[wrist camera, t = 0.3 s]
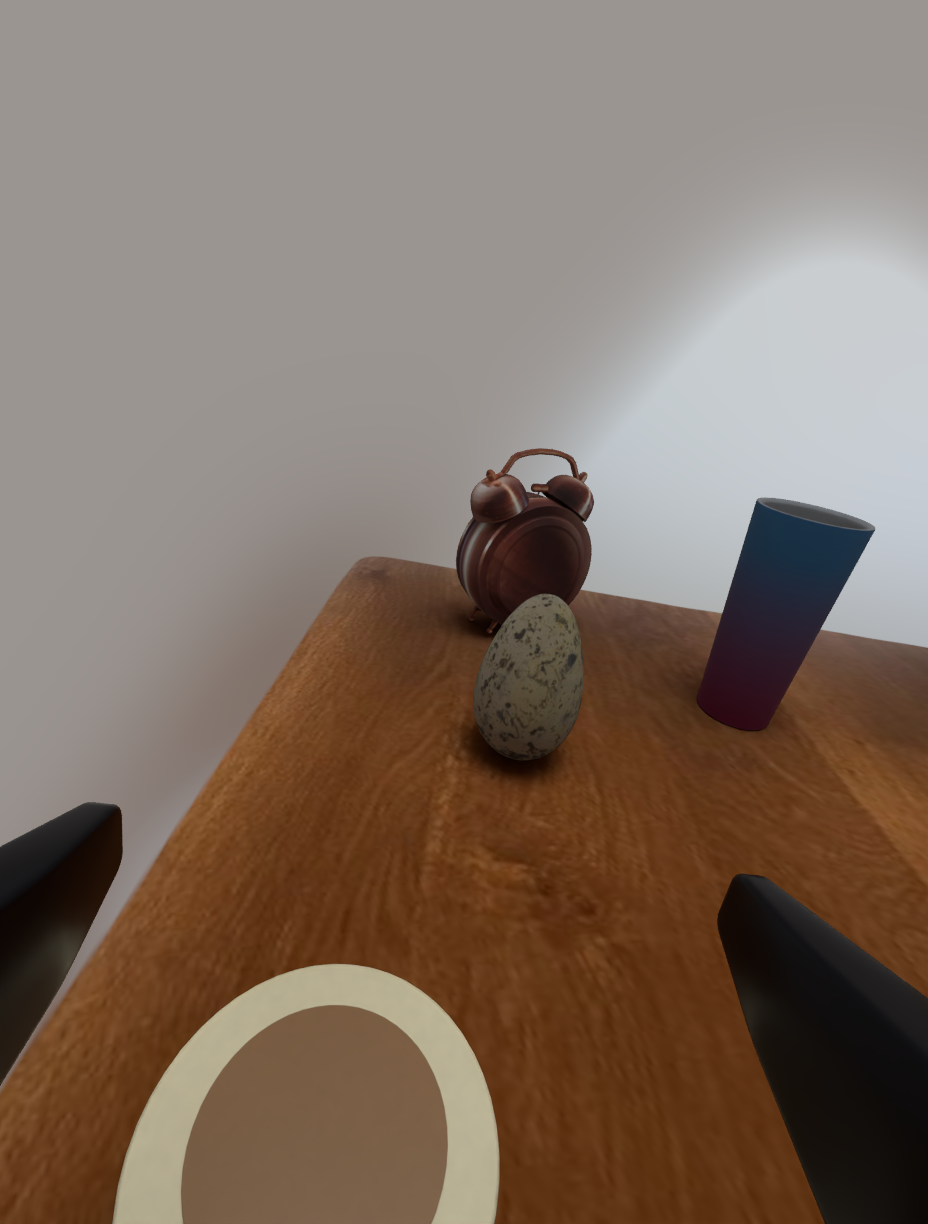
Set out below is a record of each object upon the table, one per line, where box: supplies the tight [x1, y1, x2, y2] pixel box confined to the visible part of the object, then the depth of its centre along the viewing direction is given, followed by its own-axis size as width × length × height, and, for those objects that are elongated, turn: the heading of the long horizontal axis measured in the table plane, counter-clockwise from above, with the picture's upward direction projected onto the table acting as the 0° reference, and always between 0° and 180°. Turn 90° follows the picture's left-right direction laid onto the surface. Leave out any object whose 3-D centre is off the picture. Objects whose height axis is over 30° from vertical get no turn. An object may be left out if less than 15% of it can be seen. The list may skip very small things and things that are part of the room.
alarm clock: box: [456, 449, 594, 633], centre depth 47 cm, size 11×5×15 cm, turn 116°
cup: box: [697, 498, 875, 730], centre depth 40 cm, size 7×7×15 cm
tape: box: [112, 964, 499, 1224], centre depth 14 cm, size 8×8×5 cm
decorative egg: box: [473, 594, 584, 760], centre depth 32 cm, size 6×6×10 cm
